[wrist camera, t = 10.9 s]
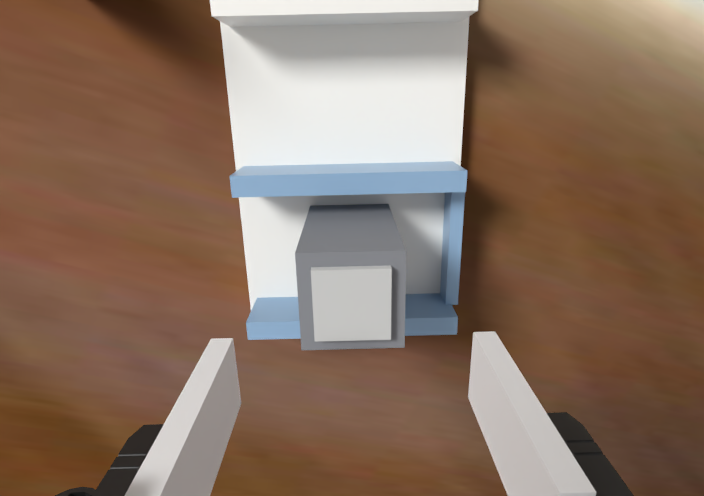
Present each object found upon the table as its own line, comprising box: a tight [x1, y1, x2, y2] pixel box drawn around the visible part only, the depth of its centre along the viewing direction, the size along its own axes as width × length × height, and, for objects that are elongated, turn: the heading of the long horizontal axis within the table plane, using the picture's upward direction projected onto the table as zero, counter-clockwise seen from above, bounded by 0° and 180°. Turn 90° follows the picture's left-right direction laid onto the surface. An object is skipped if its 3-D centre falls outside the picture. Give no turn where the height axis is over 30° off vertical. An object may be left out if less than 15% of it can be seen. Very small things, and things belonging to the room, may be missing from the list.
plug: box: [295, 204, 407, 350], centre depth 25 cm, size 5×5×9 cm
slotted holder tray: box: [210, 0, 478, 340], centre depth 25 cm, size 30×14×4 cm, turn 1°
